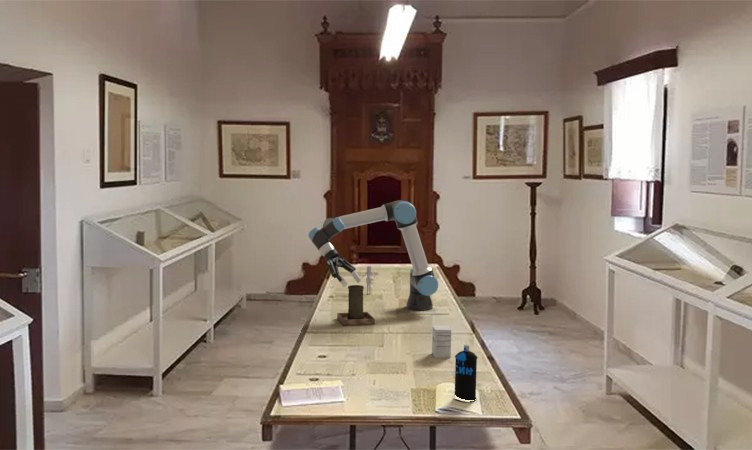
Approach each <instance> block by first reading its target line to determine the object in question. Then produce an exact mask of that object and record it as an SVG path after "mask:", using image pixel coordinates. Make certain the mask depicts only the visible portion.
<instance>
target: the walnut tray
mask: <svg viewBox="0 0 752 450" xmlns="http://www.w3.org/2000/svg"><path fill="white" fill-rule="evenodd" d="M363 314H364V316H363V317H364V319H352V320H347V318H348V312H338V313H336V316H337V317H336V319H337V320H338V322H339V323H340V324H341V325H342V326H343V327H348V326H349V327H350V326H351V327H352V326H368V325H371V326H373V325H376V318H375V317H374V316H373V315H371V313H369V312H368V311H363Z"/></svg>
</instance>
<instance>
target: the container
mask: <svg viewBox="0 0 752 450" xmlns="http://www.w3.org/2000/svg"><path fill="white" fill-rule="evenodd" d="M347 289H348V294H347V295H348V309H347V313H348V318H347V320H352V319H364V317H363V316H364V314H363V312H364V289H365V286H364V285H360V284H359V285H358V284H353V285H348V286H347Z"/></svg>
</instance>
